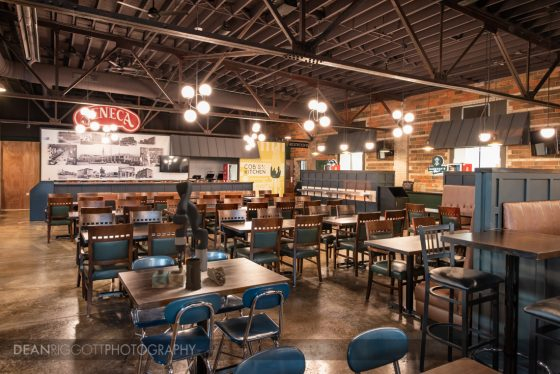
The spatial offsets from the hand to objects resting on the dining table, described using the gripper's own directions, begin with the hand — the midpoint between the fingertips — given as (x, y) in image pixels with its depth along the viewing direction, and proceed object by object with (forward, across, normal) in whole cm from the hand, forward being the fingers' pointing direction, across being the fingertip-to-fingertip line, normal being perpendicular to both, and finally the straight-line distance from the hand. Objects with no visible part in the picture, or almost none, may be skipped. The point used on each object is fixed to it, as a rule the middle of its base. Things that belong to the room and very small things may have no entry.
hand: (180, 266), depth 257 cm
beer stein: (+12, -14, -9) cm, 21 cm away
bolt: (+4, 0, +3) cm, 5 cm away
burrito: (+12, +4, -24) cm, 28 cm away
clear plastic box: (+12, 0, +8) cm, 15 cm away
